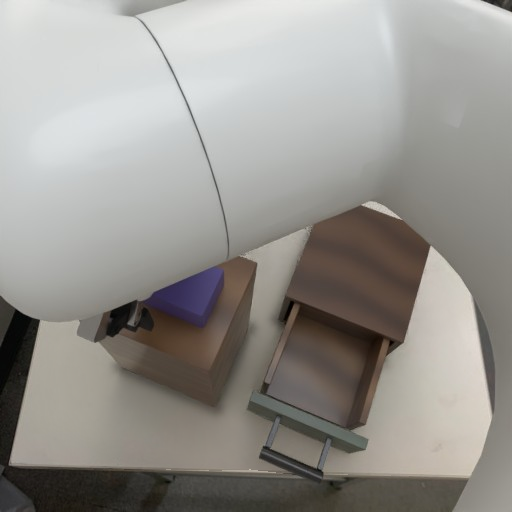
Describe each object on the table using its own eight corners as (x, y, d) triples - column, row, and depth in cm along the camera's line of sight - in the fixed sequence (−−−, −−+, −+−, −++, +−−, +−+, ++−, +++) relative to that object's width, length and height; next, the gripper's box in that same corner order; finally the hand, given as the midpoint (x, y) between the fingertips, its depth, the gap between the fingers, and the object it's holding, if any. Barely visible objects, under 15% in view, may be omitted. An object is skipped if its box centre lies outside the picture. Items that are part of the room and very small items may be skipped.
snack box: (203, 328, 43) (202, 316, 40) (111, 290, 44) (103, 276, 41) (224, 284, 45) (224, 269, 42) (135, 249, 46) (128, 231, 43)
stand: (214, 407, 61) (209, 372, 41) (121, 367, 63) (72, 314, 43) (248, 328, 66) (257, 262, 46) (160, 292, 67) (132, 213, 47)
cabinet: (379, 361, 65) (403, 342, 56) (277, 319, 67) (285, 295, 58) (409, 262, 71) (434, 231, 63) (314, 226, 73) (326, 192, 64)
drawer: (336, 495, 57) (352, 498, 50) (230, 449, 59) (231, 445, 52) (381, 344, 65) (400, 328, 58) (287, 306, 66) (294, 286, 59)
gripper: (139, 14, 29) (168, 174, 45) (-39, 257, 22) (68, 346, 38) (255, 55, 29) (243, 203, 44) (108, 319, 22) (156, 384, 37)
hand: (162, 269), depth 41 cm, fingers open, 9 cm apart
